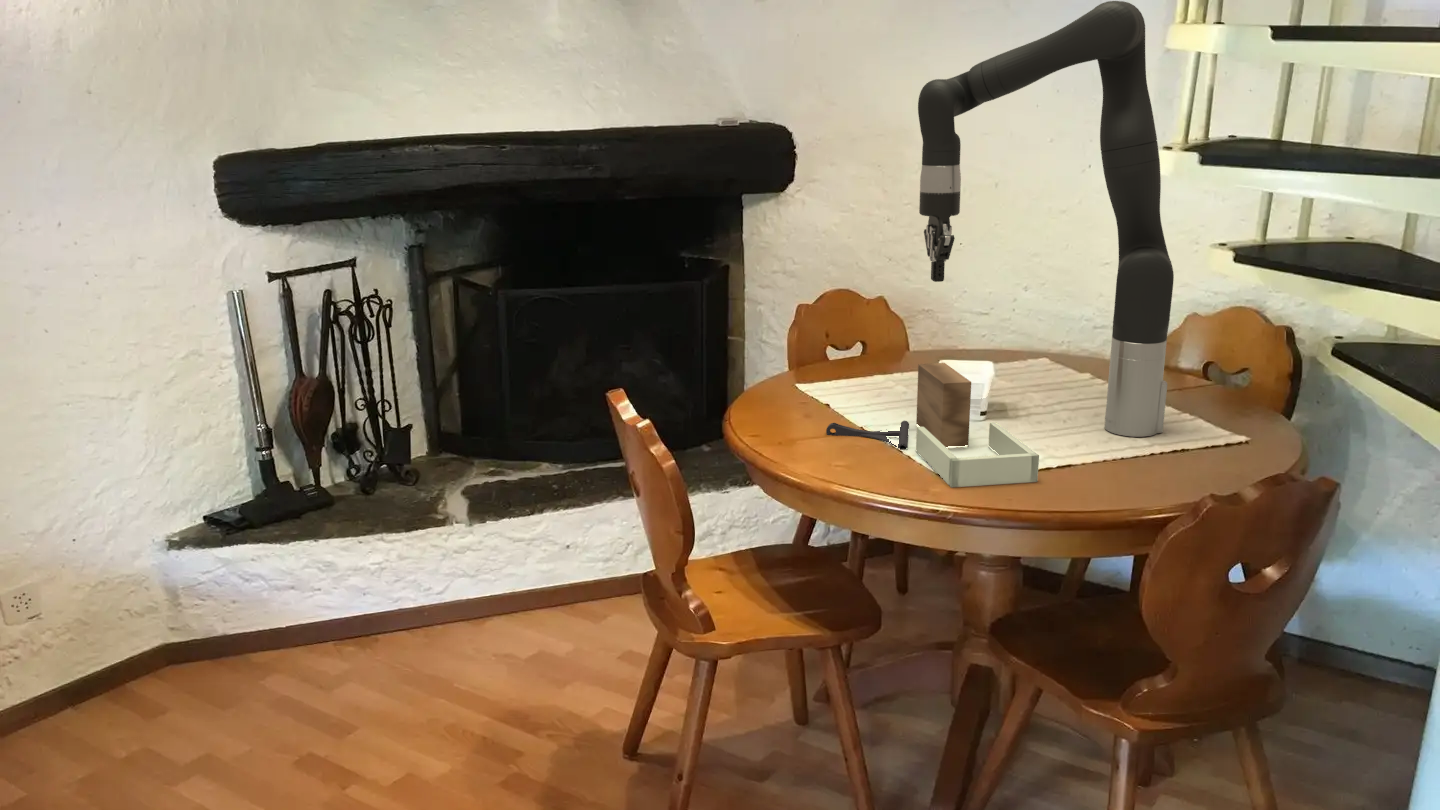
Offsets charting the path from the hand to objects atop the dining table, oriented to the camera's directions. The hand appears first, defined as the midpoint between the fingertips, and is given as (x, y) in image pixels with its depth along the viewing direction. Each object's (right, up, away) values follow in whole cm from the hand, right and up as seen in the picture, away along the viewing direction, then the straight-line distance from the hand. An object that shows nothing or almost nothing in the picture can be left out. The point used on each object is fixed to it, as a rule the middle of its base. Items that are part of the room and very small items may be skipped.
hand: (937, 280), depth 214 cm
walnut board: (-2, -30, -12) cm, 32 cm away
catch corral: (+1, -34, -27) cm, 43 cm away
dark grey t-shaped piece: (-15, -30, -10) cm, 35 cm away
